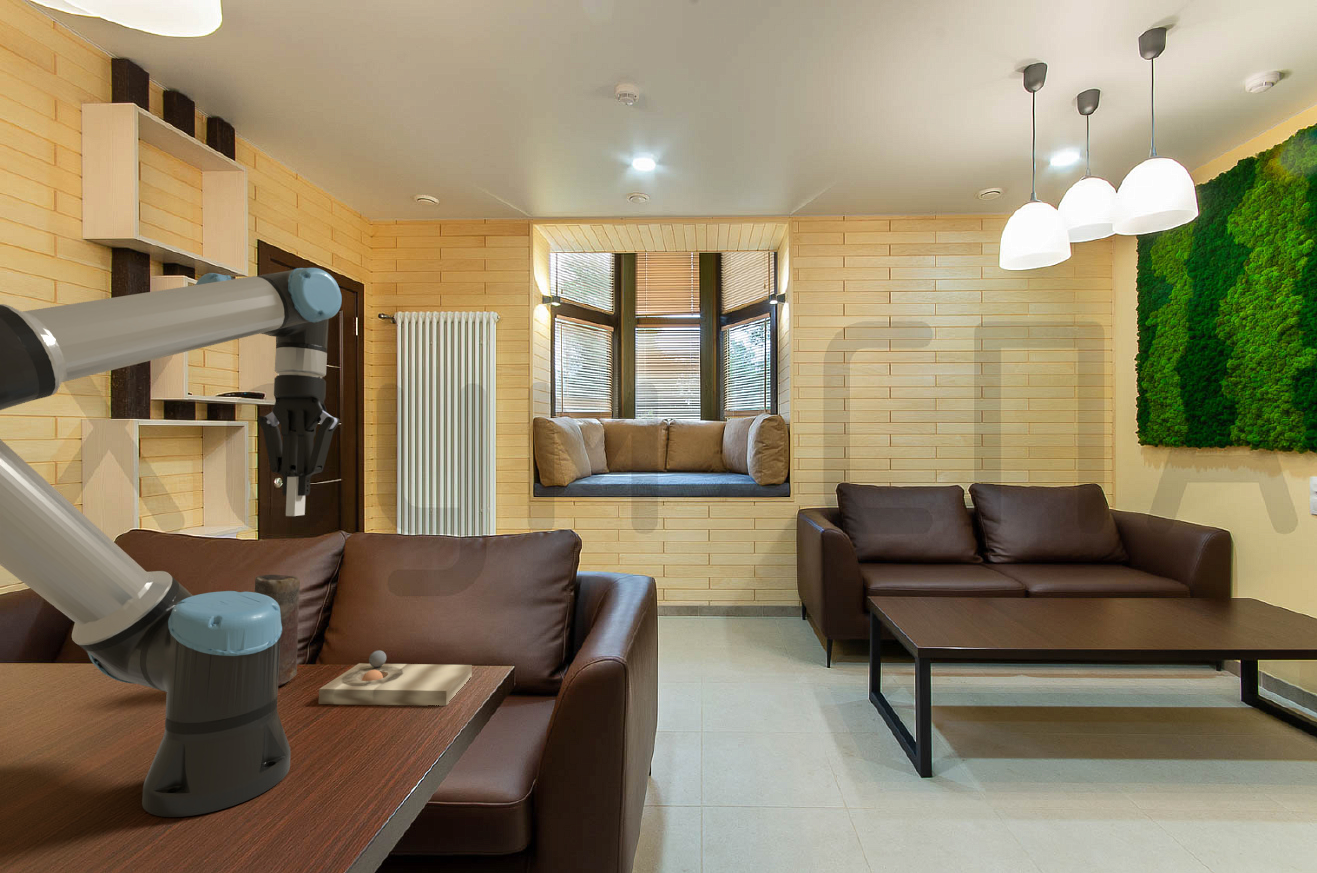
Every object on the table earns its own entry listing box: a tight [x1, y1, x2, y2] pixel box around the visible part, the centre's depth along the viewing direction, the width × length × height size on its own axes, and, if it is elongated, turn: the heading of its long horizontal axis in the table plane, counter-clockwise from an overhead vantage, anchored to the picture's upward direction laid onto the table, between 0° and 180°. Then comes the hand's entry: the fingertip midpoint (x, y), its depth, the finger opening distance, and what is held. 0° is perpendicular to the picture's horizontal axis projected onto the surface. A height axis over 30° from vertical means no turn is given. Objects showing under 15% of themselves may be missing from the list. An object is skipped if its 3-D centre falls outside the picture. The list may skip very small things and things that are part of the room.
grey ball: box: [368, 649, 387, 667], centre depth 111 cm, size 3×3×3 cm
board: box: [318, 662, 473, 707], centre depth 106 cm, size 22×13×2 cm, turn 89°
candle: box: [254, 574, 301, 687], centre depth 109 cm, size 8×7×20 cm
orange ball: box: [362, 670, 383, 681], centre depth 106 cm, size 4×4×4 cm
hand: (295, 515), depth 98 cm, fingers closed
